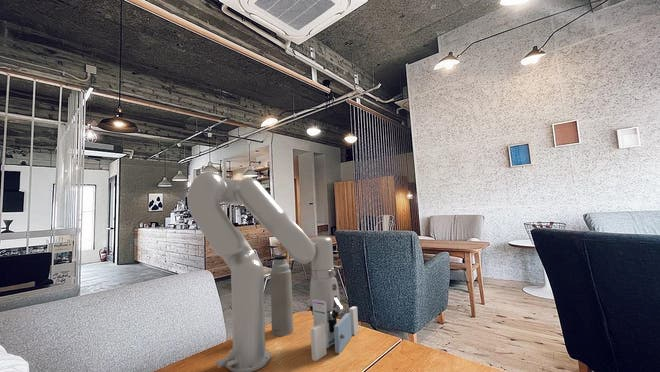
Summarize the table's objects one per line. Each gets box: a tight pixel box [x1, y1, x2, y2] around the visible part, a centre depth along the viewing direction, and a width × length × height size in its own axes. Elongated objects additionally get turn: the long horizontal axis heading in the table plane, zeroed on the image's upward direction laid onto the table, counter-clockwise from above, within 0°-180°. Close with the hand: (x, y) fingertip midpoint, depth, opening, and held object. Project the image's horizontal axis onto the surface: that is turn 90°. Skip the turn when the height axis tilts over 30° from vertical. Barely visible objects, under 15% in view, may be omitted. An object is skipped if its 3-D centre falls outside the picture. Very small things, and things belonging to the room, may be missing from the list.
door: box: [334, 309, 353, 355], centre depth 91 cm, size 13×2×9 cm, turn 157°
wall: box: [310, 306, 360, 362], centre depth 91 cm, size 23×2×9 cm, turn 141°
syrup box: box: [312, 299, 338, 349], centre depth 92 cm, size 6×6×14 cm
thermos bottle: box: [269, 255, 294, 337], centre depth 105 cm, size 8×8×28 cm
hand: (325, 328), depth 91 cm, fingers closed on syrup box, 5 cm apart
